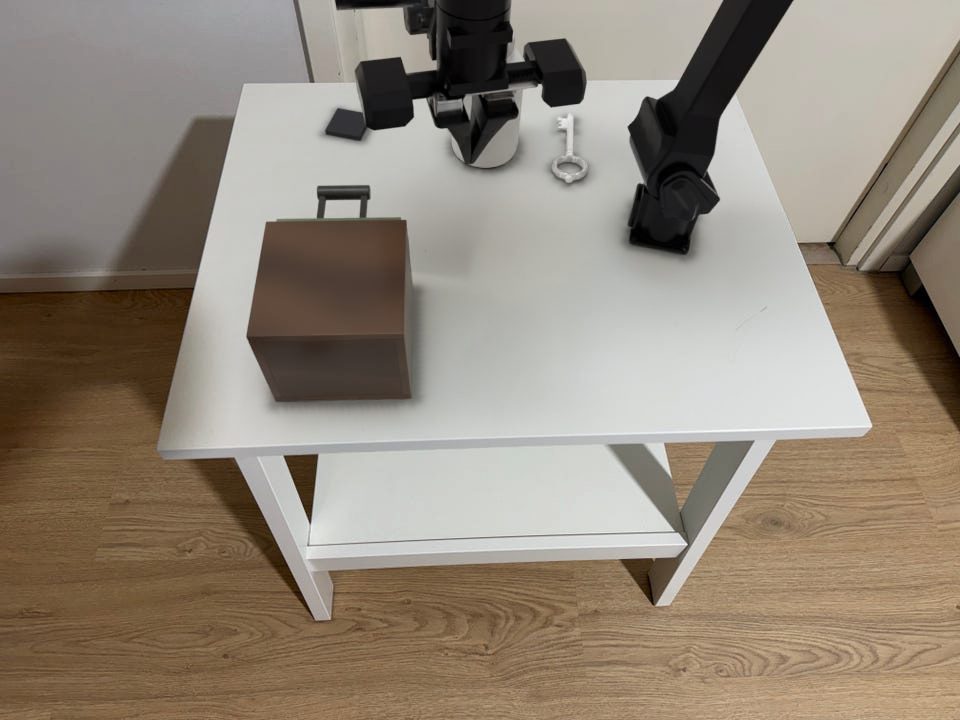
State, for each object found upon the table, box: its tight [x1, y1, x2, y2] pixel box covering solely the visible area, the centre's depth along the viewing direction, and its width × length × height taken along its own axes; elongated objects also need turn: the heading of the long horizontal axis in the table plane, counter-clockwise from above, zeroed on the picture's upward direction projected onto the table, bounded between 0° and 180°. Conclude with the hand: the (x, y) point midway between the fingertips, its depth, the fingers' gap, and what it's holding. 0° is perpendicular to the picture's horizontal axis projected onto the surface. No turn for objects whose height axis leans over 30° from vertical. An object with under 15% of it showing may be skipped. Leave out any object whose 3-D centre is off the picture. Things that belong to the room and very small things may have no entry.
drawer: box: [275, 184, 402, 221], centre depth 67 cm, size 17×11×9 cm
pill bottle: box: [450, 26, 524, 169], centre depth 78 cm, size 8×8×15 cm
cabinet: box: [245, 219, 414, 403], centre depth 64 cm, size 13×13×11 cm
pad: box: [324, 107, 368, 141], centre depth 86 cm, size 4×4×1 cm
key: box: [551, 112, 589, 184], centre depth 84 cm, size 12×1×4 cm
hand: (468, 161), depth 66 cm, fingers closed
